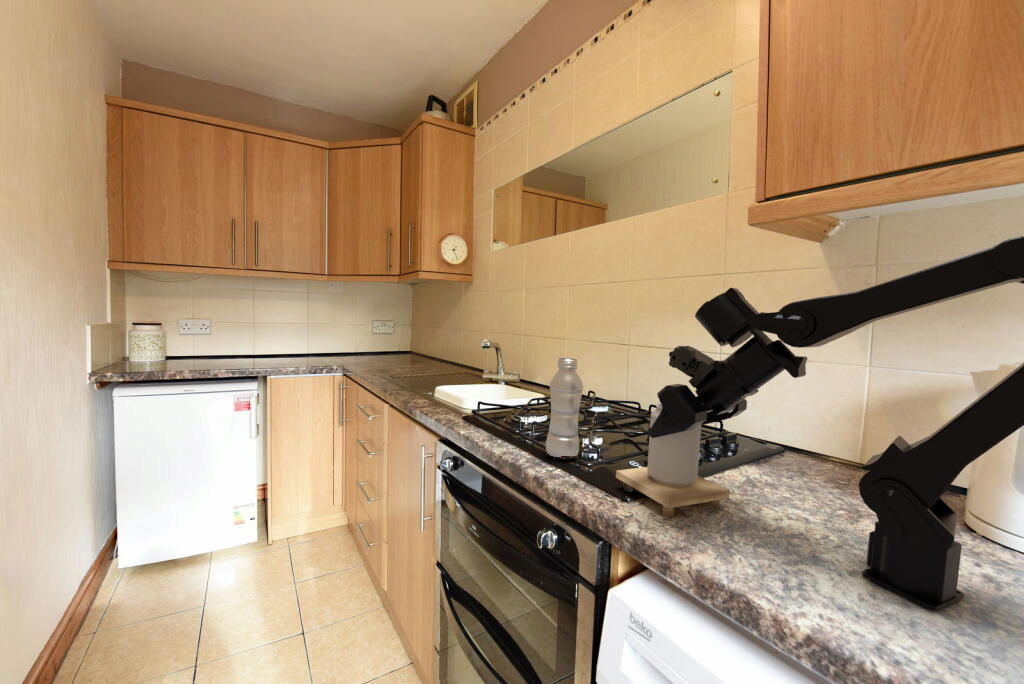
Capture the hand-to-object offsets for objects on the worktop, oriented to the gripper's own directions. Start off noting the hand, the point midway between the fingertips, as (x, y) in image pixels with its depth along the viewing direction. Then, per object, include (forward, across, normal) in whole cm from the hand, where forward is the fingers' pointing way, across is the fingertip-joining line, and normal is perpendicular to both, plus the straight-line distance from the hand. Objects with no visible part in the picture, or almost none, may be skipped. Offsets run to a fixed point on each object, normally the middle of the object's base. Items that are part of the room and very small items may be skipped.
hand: (665, 431), depth 69 cm
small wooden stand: (+6, 0, +8) cm, 11 cm away
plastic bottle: (+23, 0, -8) cm, 24 cm away
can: (+4, 0, +7) cm, 8 cm away
